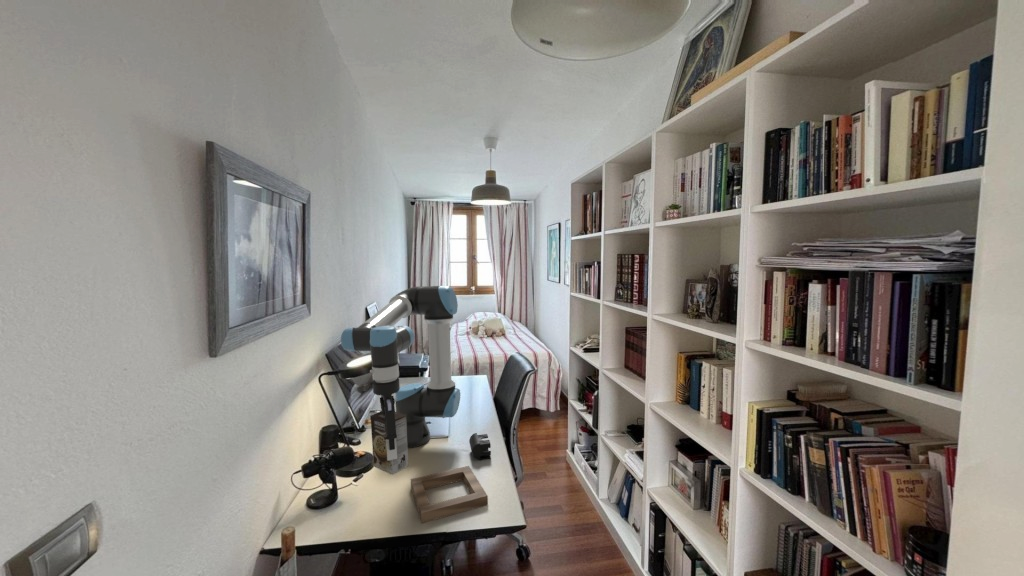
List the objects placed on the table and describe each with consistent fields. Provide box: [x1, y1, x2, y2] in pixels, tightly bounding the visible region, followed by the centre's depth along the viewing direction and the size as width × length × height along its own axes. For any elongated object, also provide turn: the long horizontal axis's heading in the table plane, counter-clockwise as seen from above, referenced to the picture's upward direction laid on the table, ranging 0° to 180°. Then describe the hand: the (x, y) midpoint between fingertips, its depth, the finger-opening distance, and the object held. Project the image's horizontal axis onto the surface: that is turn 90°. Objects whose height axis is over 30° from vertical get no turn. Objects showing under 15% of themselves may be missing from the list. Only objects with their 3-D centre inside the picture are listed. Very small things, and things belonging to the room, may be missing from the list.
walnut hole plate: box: [410, 465, 489, 524], centre depth 130 cm, size 20×20×3 cm
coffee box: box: [370, 410, 409, 476], centre depth 122 cm, size 9×6×16 cm
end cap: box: [468, 432, 492, 461], centre depth 157 cm, size 10×7×7 cm
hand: (390, 450), depth 122 cm, fingers closed on coffee box, 11 cm apart
